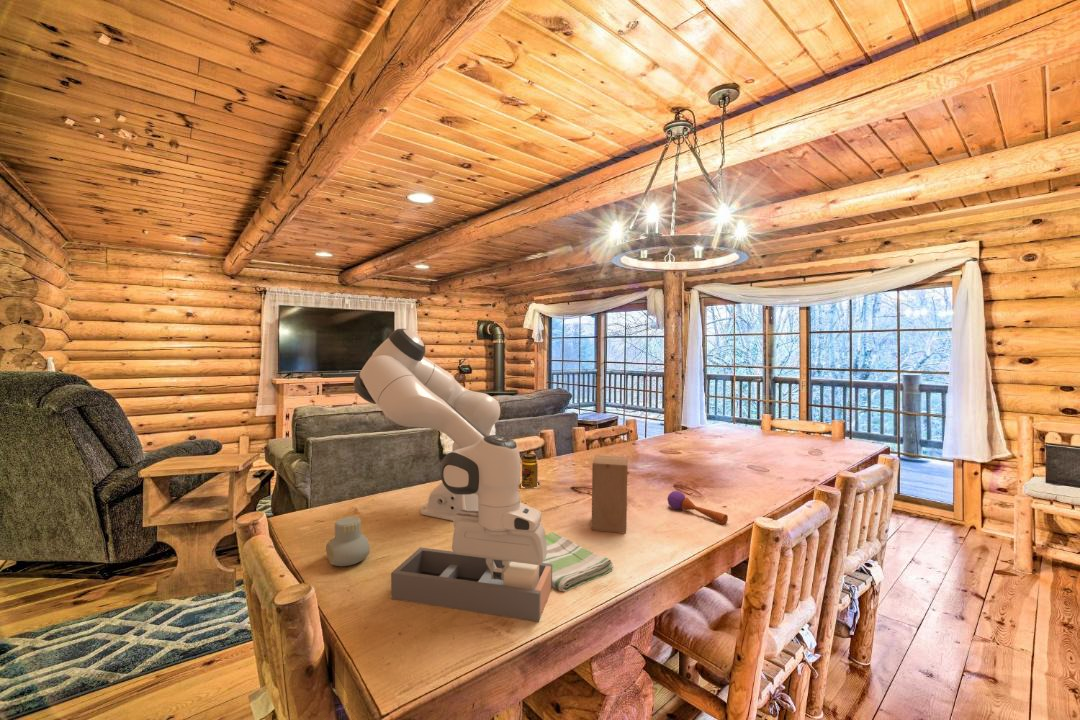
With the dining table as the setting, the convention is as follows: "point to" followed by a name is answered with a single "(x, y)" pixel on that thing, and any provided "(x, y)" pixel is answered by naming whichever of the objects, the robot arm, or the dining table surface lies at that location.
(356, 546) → the air freshener
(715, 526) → the dining table surface
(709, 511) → the purple and brown maraca
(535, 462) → the condiment
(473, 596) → the box
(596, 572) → the dish towel
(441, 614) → the dining table surface
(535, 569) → the cream block
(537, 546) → the robot arm
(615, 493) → the wooden block
